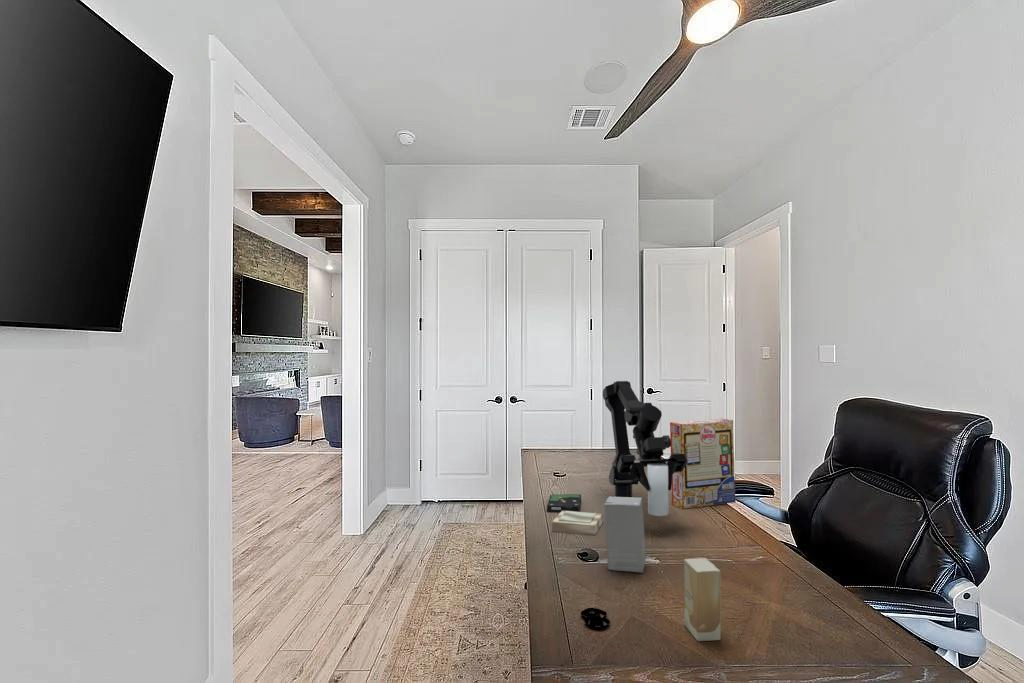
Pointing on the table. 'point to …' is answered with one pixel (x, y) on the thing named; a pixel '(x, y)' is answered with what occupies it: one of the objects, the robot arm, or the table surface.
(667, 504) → the ceramic canister
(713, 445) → the board game box
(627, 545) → the skincare box
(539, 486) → the table surface
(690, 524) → the table surface
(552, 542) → the table surface
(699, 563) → the skincare box
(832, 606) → the table surface
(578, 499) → the disk drive
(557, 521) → the square picture frame
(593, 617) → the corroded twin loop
